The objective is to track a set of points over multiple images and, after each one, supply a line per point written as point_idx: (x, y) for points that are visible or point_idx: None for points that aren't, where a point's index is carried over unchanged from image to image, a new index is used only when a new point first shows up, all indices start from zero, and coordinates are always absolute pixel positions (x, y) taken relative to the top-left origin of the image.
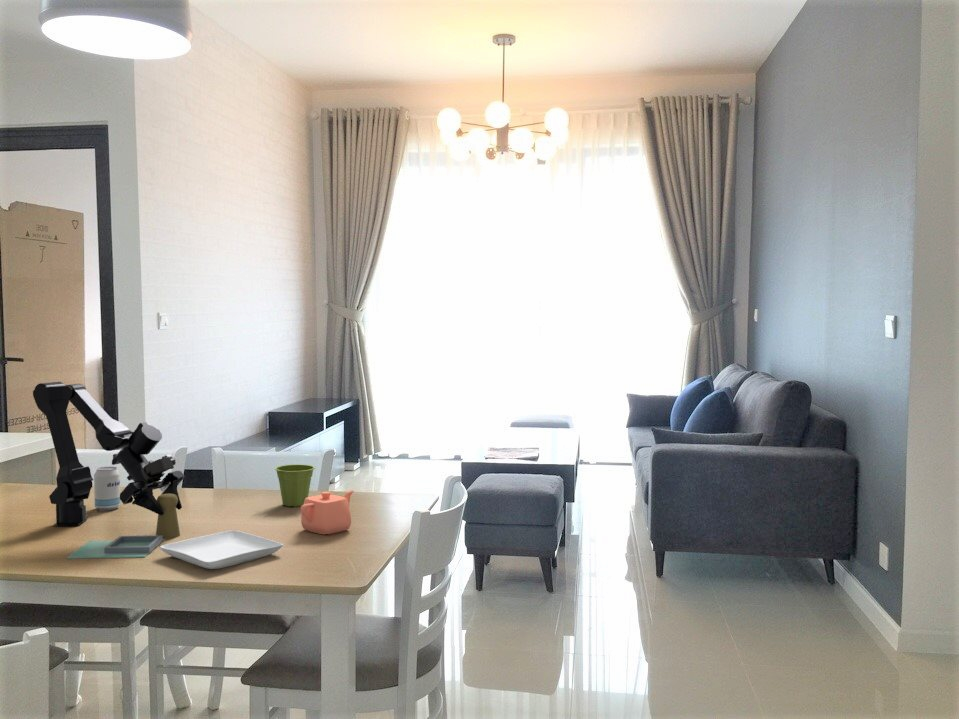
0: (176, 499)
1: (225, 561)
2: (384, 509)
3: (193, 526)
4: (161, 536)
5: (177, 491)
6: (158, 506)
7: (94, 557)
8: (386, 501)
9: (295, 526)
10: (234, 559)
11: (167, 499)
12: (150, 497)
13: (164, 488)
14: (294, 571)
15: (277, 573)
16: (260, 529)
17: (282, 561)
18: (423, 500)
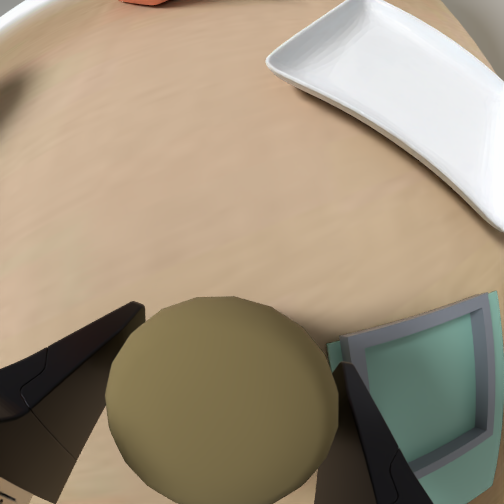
0: (222, 299)
1: (484, 72)
2: (46, 2)
3: (71, 303)
4: (362, 333)
5: (10, 365)
6: (374, 411)
7: (500, 429)
8: (5, 26)
9: (119, 27)
10: (466, 60)
11: (328, 367)
12: (424, 499)
13: (9, 497)
14: (422, 11)
15: (441, 26)
16: (134, 68)
17: None
18: (23, 2)
